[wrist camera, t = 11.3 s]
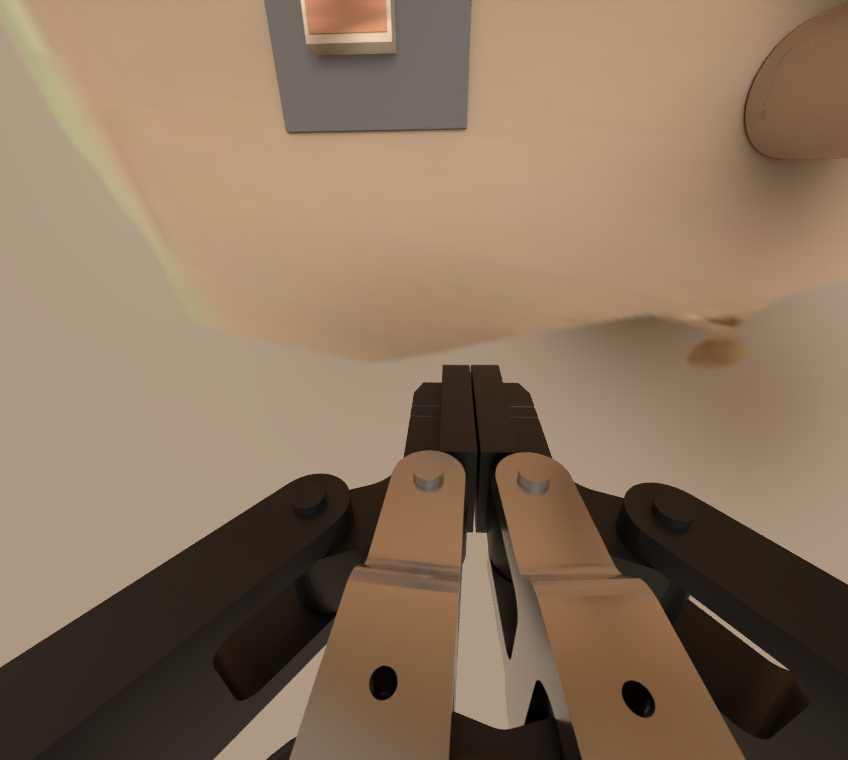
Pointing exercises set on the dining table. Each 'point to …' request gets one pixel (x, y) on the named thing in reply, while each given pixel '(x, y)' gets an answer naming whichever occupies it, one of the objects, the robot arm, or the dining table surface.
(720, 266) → the dining table surface
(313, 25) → the slab
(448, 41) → the mat
